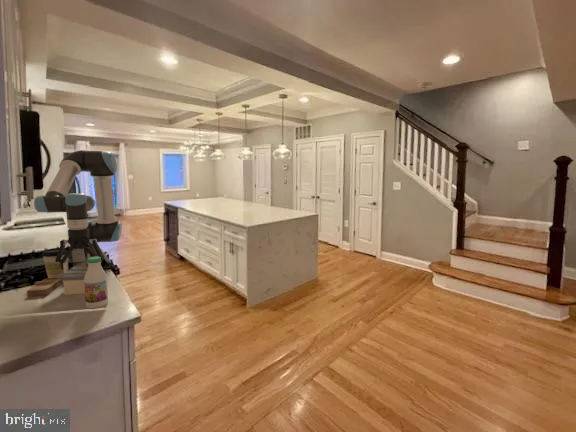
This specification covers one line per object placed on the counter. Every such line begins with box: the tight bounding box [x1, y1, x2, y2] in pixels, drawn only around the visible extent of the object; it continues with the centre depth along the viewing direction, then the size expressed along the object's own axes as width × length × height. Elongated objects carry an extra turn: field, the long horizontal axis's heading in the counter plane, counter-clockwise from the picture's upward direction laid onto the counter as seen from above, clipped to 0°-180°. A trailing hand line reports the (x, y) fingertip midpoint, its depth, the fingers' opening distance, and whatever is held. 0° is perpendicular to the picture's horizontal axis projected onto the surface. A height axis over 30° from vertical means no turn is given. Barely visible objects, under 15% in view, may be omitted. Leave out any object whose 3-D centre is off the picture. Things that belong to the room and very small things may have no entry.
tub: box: [62, 280, 85, 296], centre depth 138 cm, size 16×8×7 cm, turn 15°
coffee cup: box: [41, 247, 68, 278], centre depth 147 cm, size 10×10×15 cm
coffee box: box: [72, 244, 90, 268], centre depth 158 cm, size 9×6×16 cm
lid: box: [59, 266, 88, 281], centre depth 137 cm, size 16×11×3 cm
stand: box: [26, 277, 64, 298], centre depth 134 cm, size 15×7×4 cm, turn 15°
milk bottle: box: [84, 257, 109, 310], centre depth 121 cm, size 8×8×20 cm
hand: (81, 275), depth 137 cm, fingers closed on lid, 11 cm apart
